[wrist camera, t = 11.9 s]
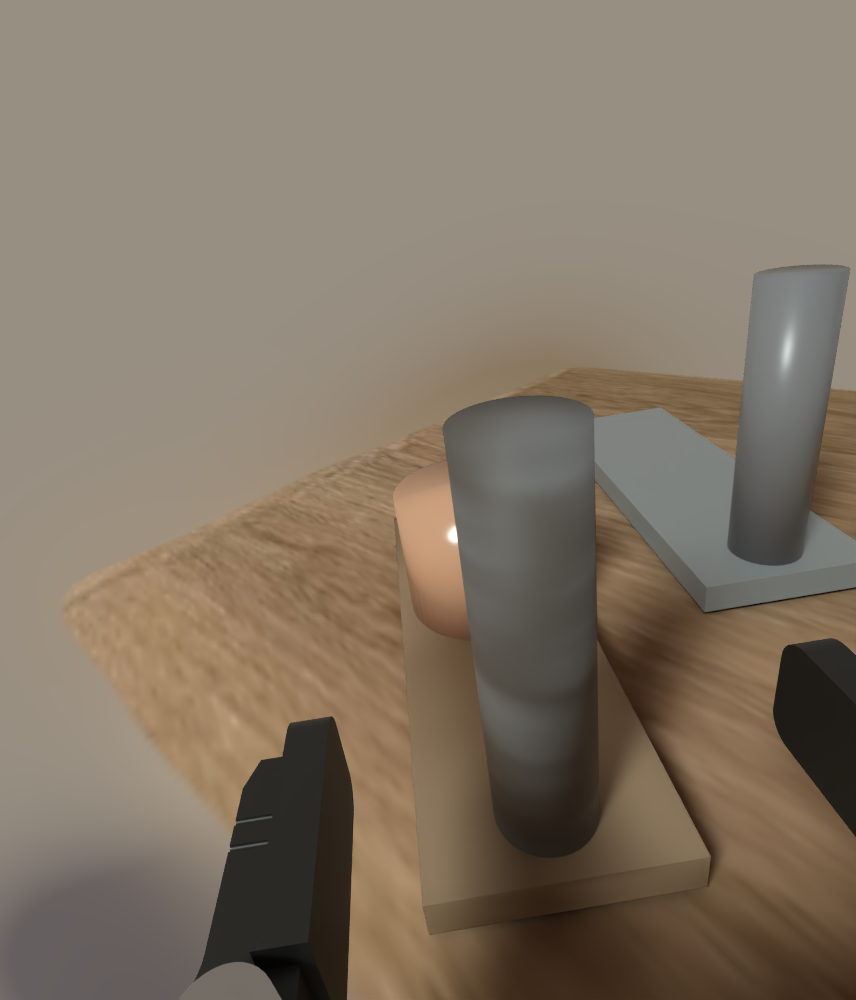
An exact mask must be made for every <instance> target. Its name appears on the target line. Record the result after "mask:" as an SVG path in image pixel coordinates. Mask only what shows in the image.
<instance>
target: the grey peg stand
mask: <svg viewBox="0 0 856 1000" xmlns="http://www.w3.org/2000/svg"><path fill="white" fill-rule="evenodd" d="M849 274H850V268H849V267H846V266H840V265H800V266H789V267H781V268H774V269H768V270H764V271H760V272H757V273H755V274H754V278H753V288H752V298H751V308H750V319H749V328H748V340H747V349H746V359H745V369H744V379H743V389H742V399H741V409H740V419H739V429H738V439H737V449H736V459H735V458H734V457H732V456H731V455H729V454H728V453H726V452H725V451H723V450H722V449H720V448H719V447H717V446H716V445H715V444H713V443H712V442H710V441H709V440H707V439H706V438H704V437H703V436H701V435H700V434H698V433H697V432H696V431H694V430H693V429H691V428H690V427H688V426H687V425H685V424H684V423H682V422H681V421H680V420H678V419H677V418H675V417H674V416H672V415H671V414H669V413H668V412H666V411H665V410H663V409H662V408H655V409H649V410H642V411H636V412H630V413H624V414H617V415H611V416H605V417H599V418H594V450H595V481H596V482H597V483H598V484H599V485H600V487H601V488H602V489H603V490H604V491H605V493H606V494H607V495H608V496H609V497H610V499H611V500H612V501H613V502H614V504H615V505H616V506H617V507H618V508H619V510H620V511H621V512H622V513H623V514H624V516H625V517H626V518H627V519H628V520H629V522H630V523H631V524H632V525H633V526H634V528H635V529H636V530H637V531H638V533H639V534H640V535H641V536H642V537H643V539H644V540H645V541H646V542H647V543H648V545H649V546H650V547H651V548H652V549H653V551H654V552H655V553H656V554H657V556H658V557H659V558H660V559H661V560H662V562H663V563H664V564H665V565H666V566H667V568H668V569H669V570H670V571H671V572H672V574H673V575H674V576H675V577H676V579H677V580H678V581H679V582H680V583H681V585H682V586H683V587H684V588H685V589H686V591H687V592H688V593H689V594H690V595H691V597H692V598H693V599H694V600H695V601H696V603H697V604H698V605H699V606H700V608H701V609H702V610H703V611H704V612H709V611H715V610H721V609H727V608H733V607H739V606H745V605H751V604H757V603H763V602H769V601H776V600H782V599H788V598H794V597H800V596H806V595H812V594H818V593H824V592H830V591H836V590H842V589H848V588H854V587H856V541H855V540H853V539H852V538H850V537H849V536H847V535H846V534H845V533H843V532H842V531H840V530H839V529H837V528H836V527H834V526H833V525H831V524H830V523H828V522H827V521H826V520H824V519H823V518H821V517H820V516H818V515H817V514H815V513H814V512H812V511H811V510H810V508H811V502H812V496H813V490H814V484H815V478H816V472H817V466H818V460H819V454H820V448H821V442H822V436H823V430H824V424H825V418H826V412H827V406H828V400H829V394H830V388H831V382H832V376H833V370H834V364H835V357H836V352H837V346H838V340H839V333H840V328H841V322H842V316H843V310H844V304H845V297H846V292H847V286H848V280H849Z"/></svg>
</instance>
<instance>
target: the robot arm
mask: <svg viewBox="0 0 856 1000" xmlns="http://www.w3.org/2000/svg"><path fill="white" fill-rule="evenodd" d="M773 715H774V721H775V725H776V728H777V730H778V733H779V735H780V737H781V739H782V741H783V742H784V744H785V745H786V747H787V748H788V750H789V751H790V752H791V753H792V755H793V756H794V757H795V759H796V760H797V761H798V763H799V764H800V765H801V766H802V768H803V769H804V770H805V772H806V773H807V774H808V776H809V777H810V778H811V779H812V781H813V782H814V783H815V785H816V786H817V787H818V788H819V790H820V791H821V792H822V794H823V795H824V796H825V798H826V799H827V800H828V801H829V803H830V804H831V805H832V807H833V808H834V809H835V811H836V812H837V813H838V814H839V816H840V817H841V818H842V820H843V821H844V822H845V824H846V825H847V826H848V827H849V829H850V830H851V831H852V833H853V834H854V835H855V837H856V655H855V654H854V653H853V652H852V651H851V650H850V649H849V648H847V647H846V646H845V645H844V644H843V643H842V642H840V641H838V640H836V639H832V638H830V639H823V640H817V641H811V642H805V643H798V644H792V645H788V646H786V647H785V648H784V650H783V652H782V657H781V663H780V669H779V675H778V682H777V688H776V694H775V700H774V707H773ZM353 818H354V804H353V791H352V783H351V778H350V773H349V770H348V766H347V762H346V759H345V755H344V751H343V748H342V744H341V741H340V737H339V733H338V730H337V726H336V723H335V720H334V718H333V717H325V718H319V719H313V720H306V721H300V722H294V723H290V724H289V726H288V729H287V734H286V739H285V745H284V751H283V757H278V758H272V759H265V760H261V761H260V763H259V764H258V766H257V768H256V769H255V771H254V772H253V774H252V775H251V777H250V778H249V780H248V782H247V783H246V785H245V786H244V788H243V791H242V795H241V799H240V804H239V808H238V812H237V817H236V826H234V830H233V834H232V838H231V843H230V852H228V856H227V860H226V864H225V869H224V873H223V877H222V881H221V886H220V890H219V894H218V899H217V903H216V907H215V912H214V916H213V921H212V925H211V929H210V934H209V938H208V942H207V946H206V951H205V955H204V958H203V962H202V965H201V967H200V970H199V972H198V975H197V977H196V979H195V981H194V982H193V984H192V985H191V986H190V987H189V988H188V989H187V990H186V991H185V992H184V993H183V995H182V996H181V997H180V998H179V999H178V1000H347V980H348V953H349V926H350V899H351V872H352V845H353Z"/></svg>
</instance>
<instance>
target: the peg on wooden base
mask: <svg viewBox="0 0 856 1000" xmlns="http://www.w3.org/2000/svg"><path fill="white" fill-rule="evenodd" d="M443 435H444V443H445V450H446V458H447V465H448V473H449V480H450V488H451V495H452V503H453V510H454V518H455V525H456V533H457V540H458V548H459V555H460V563H461V570H462V578H463V585H464V593H465V600H466V608H467V615H468V623H469V630H470V638H471V641H470V640H460V639H454V638H450V637H446V636H444V635H441V634H438V633H436V632H434V631H432V630H431V629H429V628H428V627H426V626H425V625H424V624H423V623H422V622H421V621H420V620H419V619H418V618H417V616H416V614H415V612H414V610H413V605H412V600H411V594H410V589H409V583H408V578H407V572H406V567H405V561H404V556H403V550H402V545H401V539H400V534H399V528H398V523H397V518H394V523H395V537H396V551H397V564H398V578H399V592H400V605H401V619H402V632H403V646H404V660H405V673H406V687H407V701H408V714H409V728H410V741H411V755H412V769H413V782H414V796H415V810H416V823H417V837H418V850H419V864H420V878H421V891H422V905H423V910H424V914H425V919H426V923H427V927H428V931H429V935H432V934H438V933H444V932H449V931H455V930H461V929H467V928H472V927H478V926H484V925H490V924H496V923H501V922H507V921H513V920H519V919H524V918H530V917H536V916H542V915H548V914H553V913H559V912H565V911H571V910H576V909H582V908H588V907H594V906H600V905H605V904H611V903H617V902H623V901H628V900H634V899H640V898H646V897H652V896H657V895H663V894H669V893H675V892H680V891H686V890H692V889H698V888H704V887H707V886H708V877H709V869H710V860H711V856H710V854H709V852H708V850H707V848H706V847H705V845H704V843H703V841H702V839H701V837H700V835H699V833H698V831H697V829H696V827H695V826H694V824H693V822H692V820H691V818H690V816H689V814H688V812H687V810H686V808H685V806H684V805H683V803H682V801H681V799H680V797H679V795H678V793H677V791H676V789H675V787H674V785H673V784H672V782H671V780H670V778H669V776H668V774H667V772H666V770H665V768H664V766H663V765H662V763H661V761H660V759H659V757H658V755H657V753H656V751H655V749H654V747H653V745H652V744H651V742H650V740H649V738H648V736H647V734H646V732H645V730H644V728H643V726H642V724H641V723H640V721H639V719H638V717H637V715H636V713H635V711H634V709H633V707H632V705H631V703H630V702H629V700H628V698H627V696H626V694H625V692H624V690H623V688H622V686H621V684H620V683H619V681H618V679H617V677H616V675H615V673H614V671H613V669H612V667H611V665H610V663H609V662H608V660H607V658H606V656H605V654H604V652H603V650H602V648H601V646H600V644H599V642H598V641H597V593H596V521H595V450H594V413H593V411H592V409H591V408H590V407H588V406H587V405H585V404H583V403H581V402H578V401H576V400H572V399H568V398H562V397H554V396H518V397H509V398H502V399H496V400H491V401H487V402H483V403H479V404H476V405H473V406H470V407H467V408H465V409H463V410H461V411H458V412H457V413H455V414H453V415H452V416H451V417H449V418H448V419H447V420H446V421H445V423H444V425H443Z"/></svg>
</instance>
